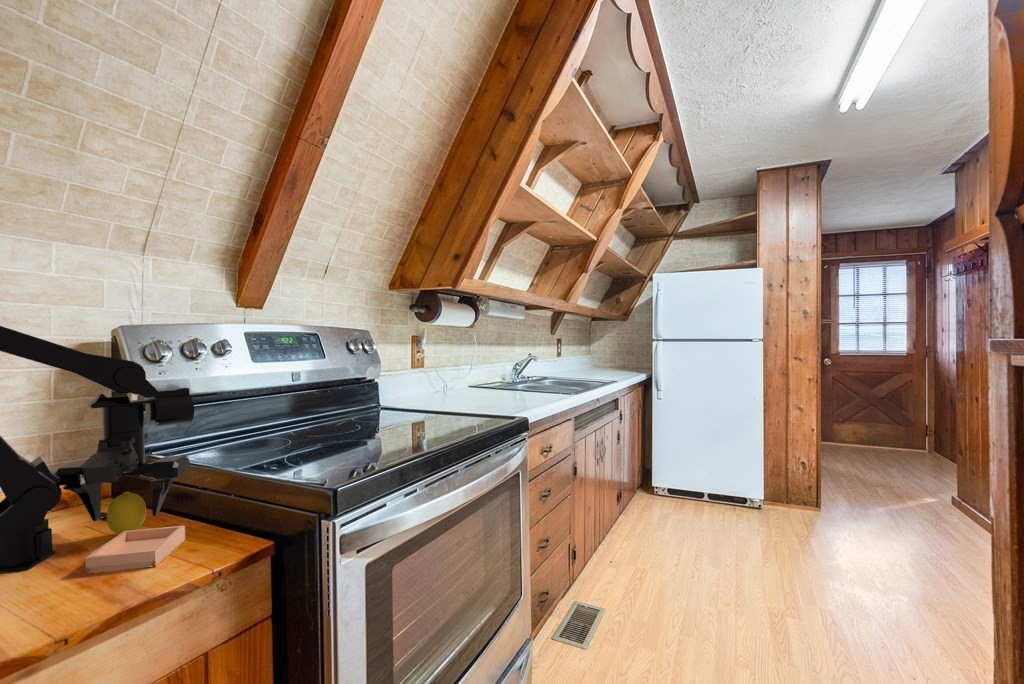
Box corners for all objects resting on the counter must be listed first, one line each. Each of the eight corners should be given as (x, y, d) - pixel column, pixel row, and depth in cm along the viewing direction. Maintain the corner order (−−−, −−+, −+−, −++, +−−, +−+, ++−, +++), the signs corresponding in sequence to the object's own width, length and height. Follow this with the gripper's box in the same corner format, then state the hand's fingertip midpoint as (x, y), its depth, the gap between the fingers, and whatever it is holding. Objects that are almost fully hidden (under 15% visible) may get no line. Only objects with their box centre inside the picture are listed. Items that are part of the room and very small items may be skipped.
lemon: (100, 539, 86) (99, 494, 86) (136, 528, 91) (135, 485, 91) (116, 545, 84) (115, 498, 84) (153, 533, 89) (151, 489, 88)
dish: (85, 574, 73) (85, 557, 73) (124, 545, 83) (124, 531, 83) (155, 567, 75) (155, 550, 75) (185, 539, 85) (184, 525, 85)
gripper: (27, 443, 77) (30, 541, 77) (161, 436, 81) (163, 529, 81) (74, 430, 88) (76, 517, 88) (190, 424, 92) (192, 507, 92)
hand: (126, 518), depth 87 cm, fingers open, 9 cm apart
